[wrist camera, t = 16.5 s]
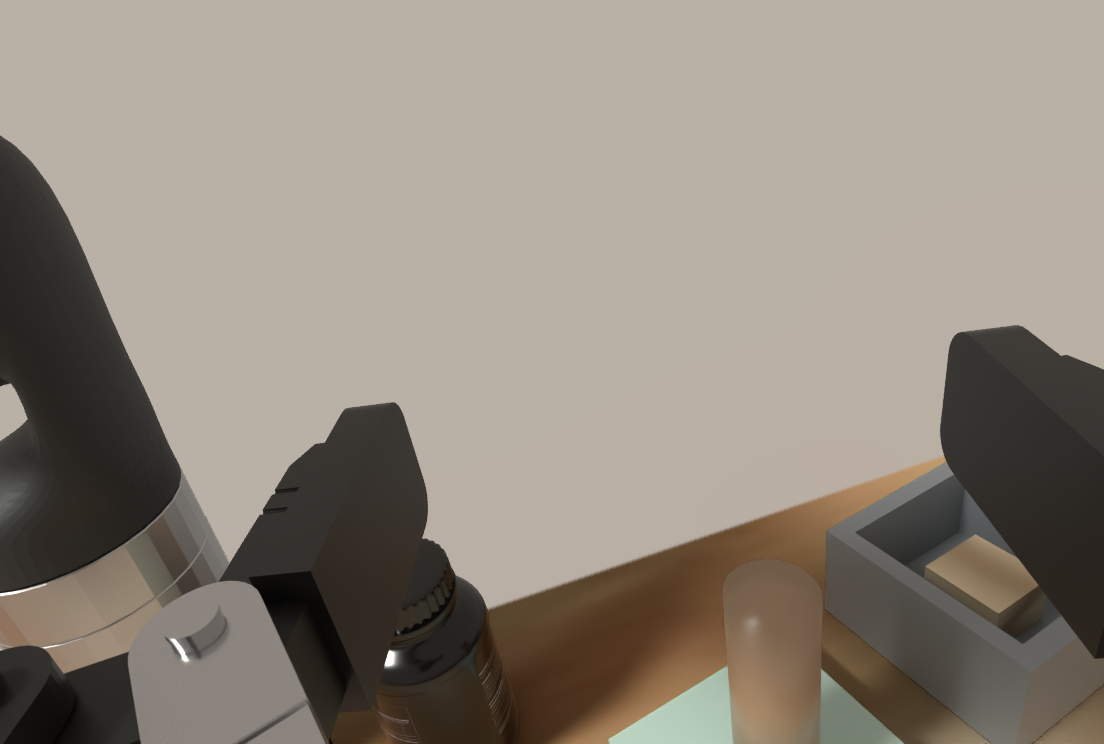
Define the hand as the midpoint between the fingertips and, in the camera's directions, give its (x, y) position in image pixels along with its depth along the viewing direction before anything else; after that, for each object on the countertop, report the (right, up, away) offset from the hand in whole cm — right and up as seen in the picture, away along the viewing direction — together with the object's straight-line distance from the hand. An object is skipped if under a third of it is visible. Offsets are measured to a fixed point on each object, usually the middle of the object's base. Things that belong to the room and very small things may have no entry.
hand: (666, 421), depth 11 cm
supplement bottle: (-7, -19, +28) cm, 34 cm away
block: (+21, -12, +28) cm, 37 cm away
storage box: (+22, -13, +28) cm, 38 cm away
